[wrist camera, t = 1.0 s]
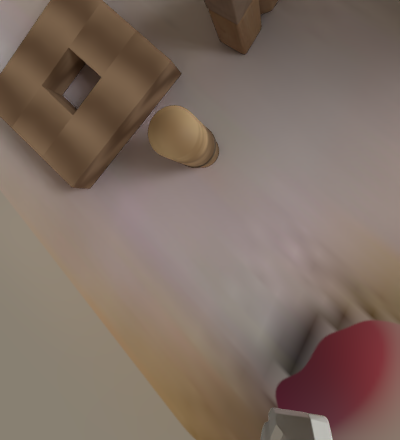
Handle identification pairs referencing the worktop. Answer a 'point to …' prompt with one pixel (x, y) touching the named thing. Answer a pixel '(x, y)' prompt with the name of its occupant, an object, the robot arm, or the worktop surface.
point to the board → (96, 100)
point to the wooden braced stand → (238, 20)
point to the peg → (182, 137)
